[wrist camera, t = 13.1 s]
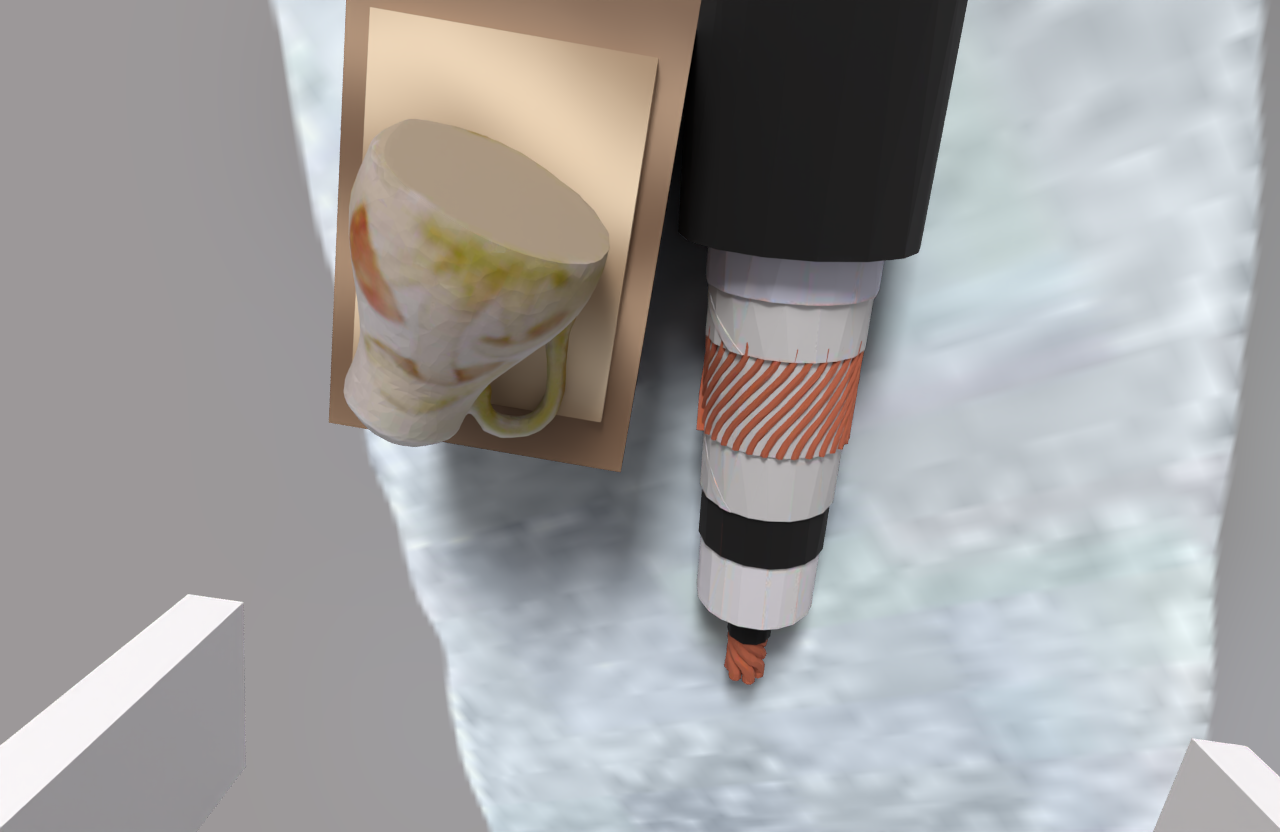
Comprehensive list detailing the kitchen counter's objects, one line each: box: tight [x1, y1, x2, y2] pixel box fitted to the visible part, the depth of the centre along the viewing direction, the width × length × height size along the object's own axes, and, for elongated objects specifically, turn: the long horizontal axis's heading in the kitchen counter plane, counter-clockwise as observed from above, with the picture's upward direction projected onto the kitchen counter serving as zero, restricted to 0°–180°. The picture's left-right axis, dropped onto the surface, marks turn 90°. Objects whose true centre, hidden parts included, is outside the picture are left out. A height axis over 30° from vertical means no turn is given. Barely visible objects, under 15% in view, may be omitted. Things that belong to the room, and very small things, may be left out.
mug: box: [344, 119, 610, 447], centre depth 22 cm, size 8×10×10 cm
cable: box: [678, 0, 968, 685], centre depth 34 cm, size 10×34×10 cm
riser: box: [329, 0, 701, 472], centre depth 31 cm, size 16×11×13 cm
